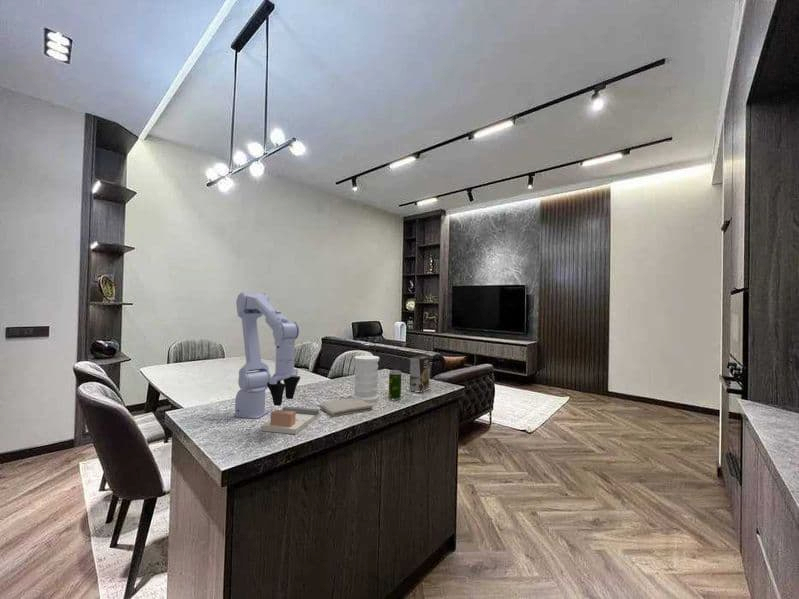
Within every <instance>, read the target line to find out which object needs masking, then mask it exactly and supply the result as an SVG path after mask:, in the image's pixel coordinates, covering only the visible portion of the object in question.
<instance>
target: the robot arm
mask: <svg viewBox="0 0 799 599" xmlns="http://www.w3.org/2000/svg"><path fill="white" fill-rule="evenodd" d="M235 305H236V312H237V317H239V318H241V325H242V326H241V327H242V336H243V343H244V344H243V345H244V353H245V364H244V365H243V366H242V367H240V369H239V370H238V379H237V382H238V387H239V390H238V391H237V392H236V395H235V405H234V407H235V408H234V414H233V417H237V418H246V419H260V418H261V417H263V416H265V415H267V414H269V413H271V412H270V411H271V410H267V409H266V408H265V406H266V390H269V391H270V394H271V397H272V403H273V406H277V407H279V406H282V403H283V399H284V398H283V396H284V394H285V399H286V400H293V399H294V395H295V392H296V390H297V385H298V383H299V382H300V381H301V376H300V375H299V369H298V368H297V369H295V353H296V352H295V350H296V348H295V347H296V339H298V337H299V334H300V328H299V325H298V323H297V322H296V321H289V319H288V318H287V317H286V316H284V314H283V313H282V311H281V309H274V307H273V306H272V305H271V303H270V297H269V296H268V294H267V293H251V292H240V293H239V294H238V295H237V298H236V302H235ZM262 316H264V317H265V319H264V320H265V323H266V324H267V326H269V328H271V330H272V335H273V339H274V345H275V346H276V347H275V369H274V371H275V372H274V374H273V375H272V374H271V372H270V369H269V365H267V364H266V363H264V362H263V360H262V356H261V349H260V348H261V347H260V339H259V332H258V331H259V330H258V322H257V320H258V319H259V318H261V317H262ZM282 381H283V382H282ZM284 392H285V393H284Z"/></svg>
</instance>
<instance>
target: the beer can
mask: <svg viewBox="0 0 799 599" xmlns="http://www.w3.org/2000/svg"><path fill="white" fill-rule="evenodd" d="M401 397H402V370H399V369H391V370H389V373H388V399H389V398H390V399H389V400H391V399H394V400H393V401H398V400H397V399H399V400H400V399H401Z"/></svg>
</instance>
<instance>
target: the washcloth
mask: <svg viewBox="0 0 799 599" xmlns="http://www.w3.org/2000/svg"><path fill="white" fill-rule="evenodd" d="M319 408H320V409H321V410H322V411H323V412H326V413H327V414H328V415H329V416H330V417H333V418H334V417H340V416H345V415H347V416H348V415H351V414H356V413H357V412H358V413H363V412H369V410H370V411H374V410H373V404H372V403H371V402H370V403H367V402H365V401H364V400H362V399H360V398H356V399H352V398H349V397H347V398H344V399H335V400H331V401H330V400H329V401H324V402H322V403H321V404H319Z"/></svg>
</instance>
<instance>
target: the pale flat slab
mask: <svg viewBox="0 0 799 599" xmlns="http://www.w3.org/2000/svg"><path fill="white" fill-rule="evenodd" d="M295 416H296V412H294V411H283V410H282V409H281V410H280V409H275V410H273V411H272V412H270V420H268V421H266V422H265V423H263V424H261V425H260V429H259V430H260V431H261V432H262V431H263V432H270V433H278V434H279V433H281V434H290V435H297V434H298V433H299V432H300V431H301V430H304V428H305V427H307V426H306V422H303V421H295Z"/></svg>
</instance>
